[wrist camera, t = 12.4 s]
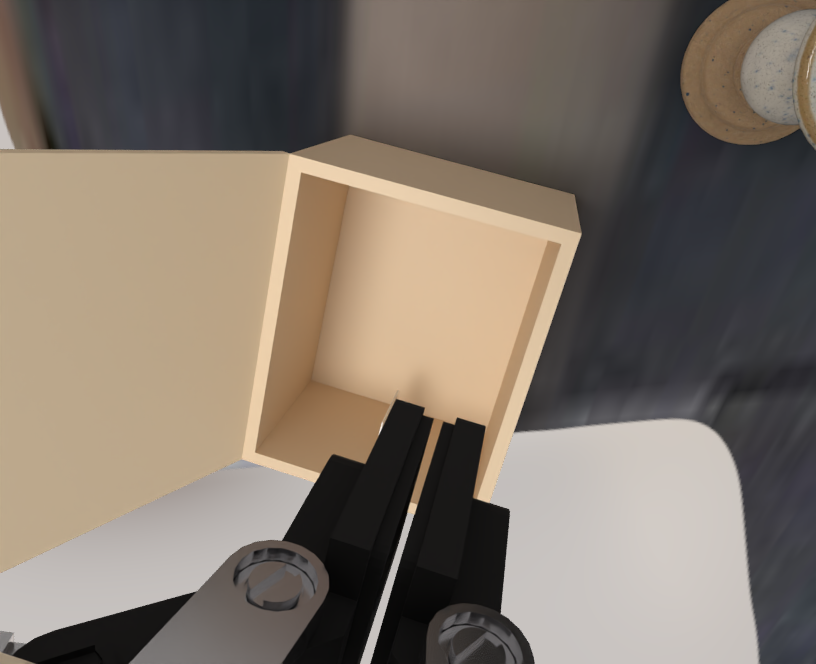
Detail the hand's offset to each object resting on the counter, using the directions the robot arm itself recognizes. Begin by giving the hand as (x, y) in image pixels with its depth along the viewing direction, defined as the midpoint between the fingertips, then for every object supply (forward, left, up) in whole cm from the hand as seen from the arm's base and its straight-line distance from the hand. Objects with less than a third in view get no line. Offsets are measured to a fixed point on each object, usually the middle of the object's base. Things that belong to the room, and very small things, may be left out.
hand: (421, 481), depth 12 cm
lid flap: (+15, +10, -18) cm, 25 cm away
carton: (+4, +12, -37) cm, 39 cm away
